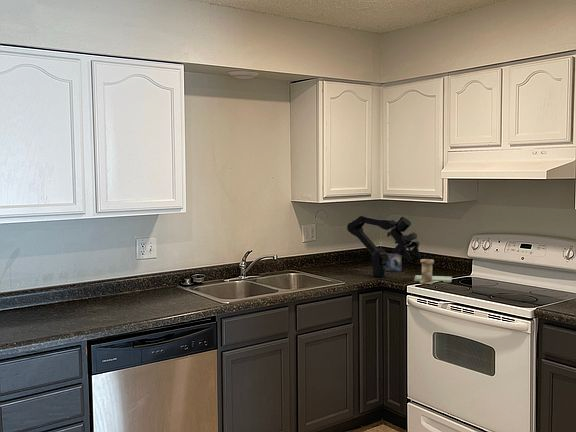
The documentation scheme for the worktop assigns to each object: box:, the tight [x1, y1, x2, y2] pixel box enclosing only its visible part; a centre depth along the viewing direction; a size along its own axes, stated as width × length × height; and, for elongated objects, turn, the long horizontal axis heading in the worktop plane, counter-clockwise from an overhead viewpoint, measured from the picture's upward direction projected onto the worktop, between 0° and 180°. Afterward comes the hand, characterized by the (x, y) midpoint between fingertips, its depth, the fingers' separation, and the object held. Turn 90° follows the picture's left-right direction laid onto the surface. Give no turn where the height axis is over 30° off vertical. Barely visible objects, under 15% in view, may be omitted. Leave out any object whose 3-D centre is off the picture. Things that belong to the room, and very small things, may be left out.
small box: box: [384, 253, 403, 273], centre depth 368 cm, size 11×6×10 cm, turn 76°
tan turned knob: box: [419, 258, 435, 285], centre depth 326 cm, size 7×7×13 cm
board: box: [414, 274, 453, 283], centre depth 338 cm, size 20×12×1 cm, turn 74°
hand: (415, 258), depth 331 cm, fingers open, 9 cm apart
